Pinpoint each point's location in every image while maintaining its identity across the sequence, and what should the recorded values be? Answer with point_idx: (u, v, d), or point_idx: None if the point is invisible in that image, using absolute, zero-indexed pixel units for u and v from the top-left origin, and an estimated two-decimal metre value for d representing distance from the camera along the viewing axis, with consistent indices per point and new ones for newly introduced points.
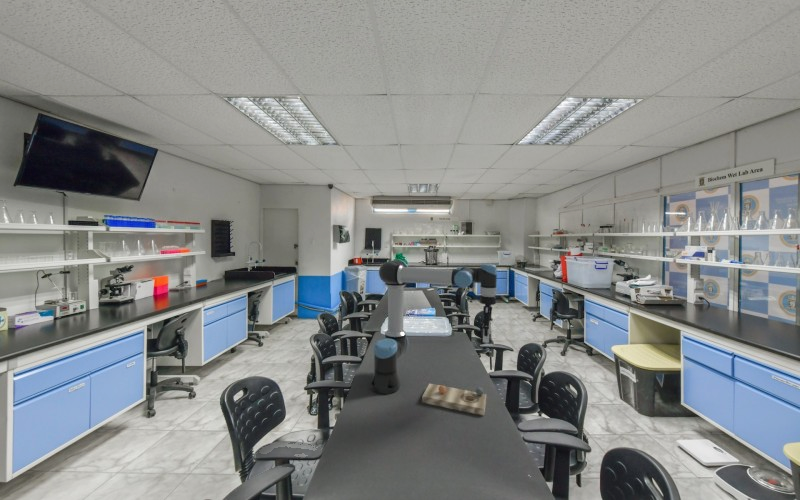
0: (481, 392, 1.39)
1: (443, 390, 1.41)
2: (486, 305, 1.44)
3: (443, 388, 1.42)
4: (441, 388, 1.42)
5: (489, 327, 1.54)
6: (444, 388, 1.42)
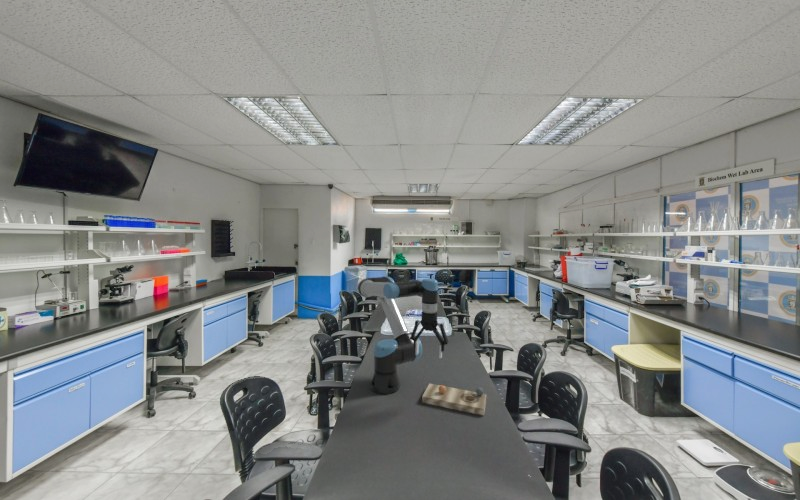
0: (481, 392, 1.39)
1: (443, 390, 1.41)
2: None
3: (443, 388, 1.42)
4: (441, 388, 1.42)
5: None
6: (444, 388, 1.42)
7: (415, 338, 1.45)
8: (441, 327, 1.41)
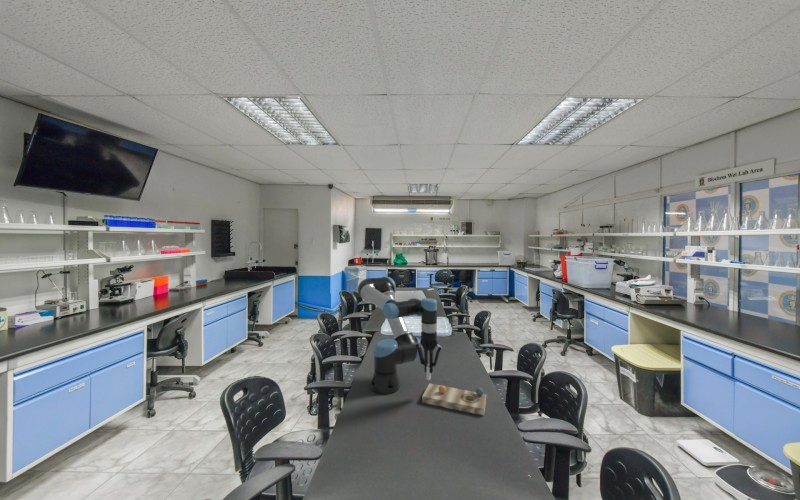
0: (481, 392, 1.39)
1: (443, 390, 1.41)
2: None
3: (443, 388, 1.42)
4: (441, 388, 1.42)
5: None
6: (444, 388, 1.42)
7: (425, 362, 1.44)
8: (438, 350, 1.41)
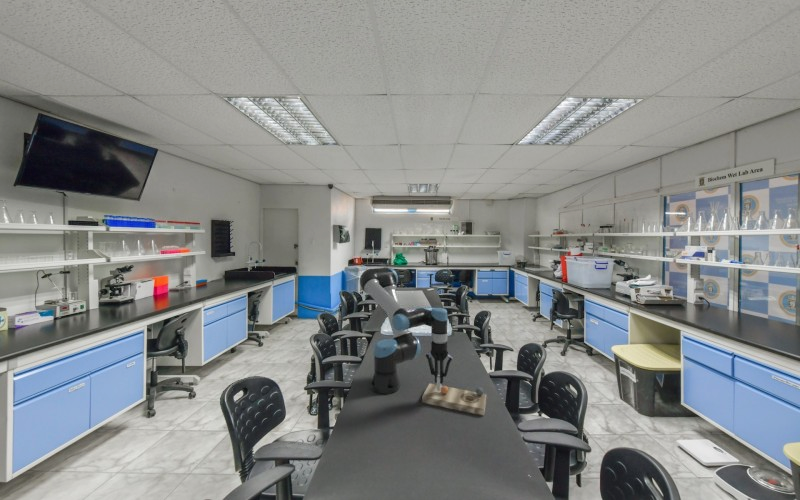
0: (481, 392, 1.39)
1: (445, 392, 1.41)
2: None
3: (446, 390, 1.41)
4: (444, 389, 1.41)
5: None
6: (447, 390, 1.41)
7: (435, 373, 1.42)
8: (449, 360, 1.40)
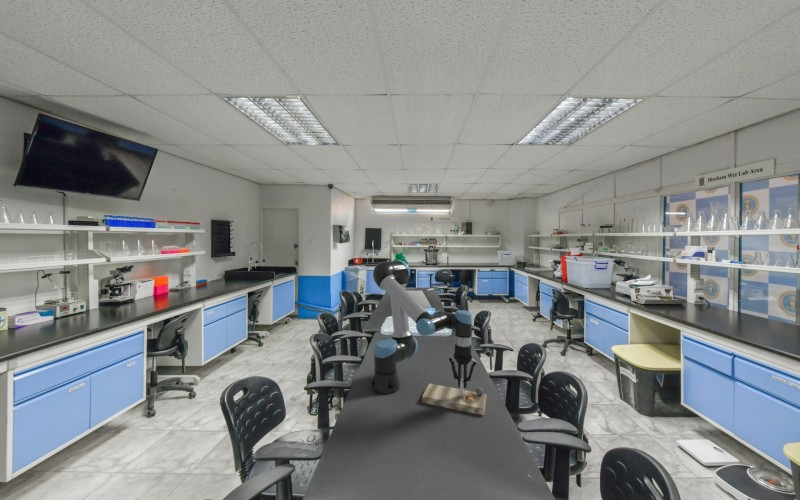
0: (481, 392, 1.39)
1: None
2: None
3: None
4: None
5: None
6: None
7: (458, 377, 1.38)
8: (473, 365, 1.36)
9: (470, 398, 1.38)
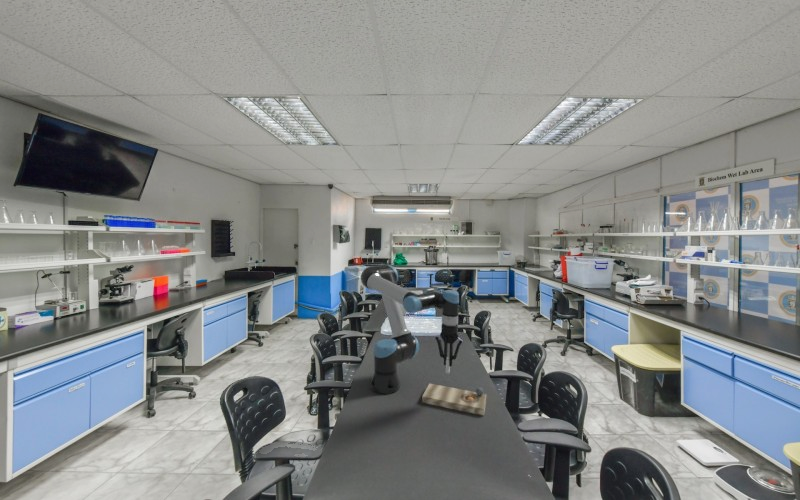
0: (481, 392, 1.39)
1: None
2: None
3: None
4: None
5: None
6: None
7: (444, 355, 1.41)
8: (459, 343, 1.38)
9: (470, 398, 1.38)
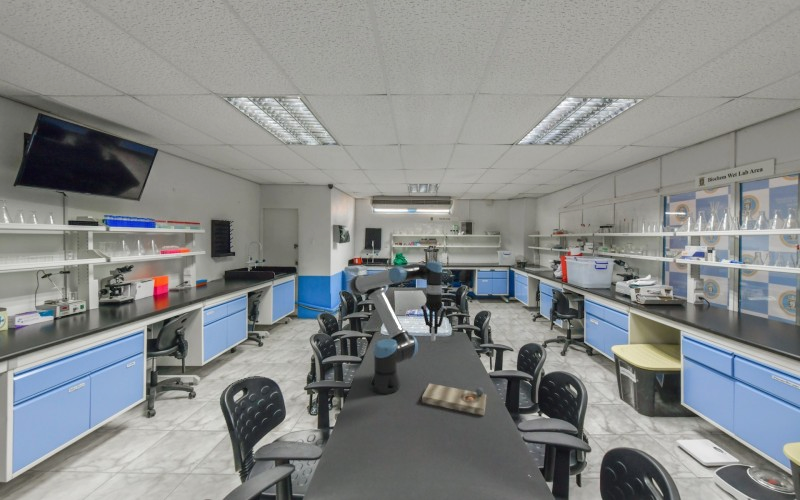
0: (481, 392, 1.39)
1: None
2: None
3: None
4: None
5: None
6: None
7: (429, 324, 1.47)
8: (443, 311, 1.45)
9: (470, 398, 1.38)
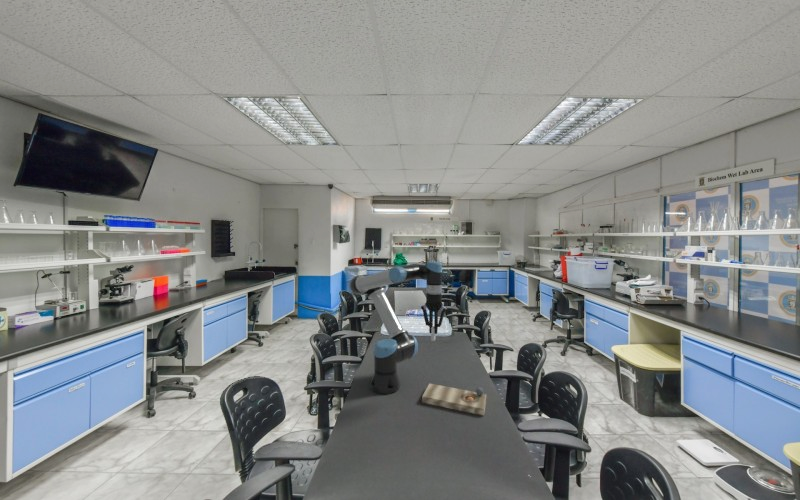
0: (481, 392, 1.39)
1: None
2: None
3: None
4: None
5: None
6: None
7: (429, 324, 1.47)
8: (443, 311, 1.45)
9: (470, 398, 1.38)
